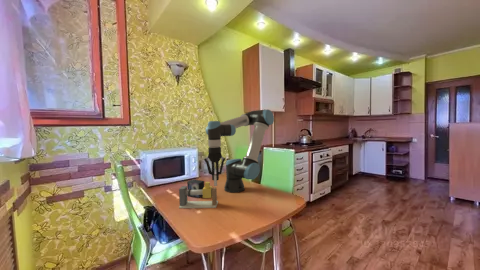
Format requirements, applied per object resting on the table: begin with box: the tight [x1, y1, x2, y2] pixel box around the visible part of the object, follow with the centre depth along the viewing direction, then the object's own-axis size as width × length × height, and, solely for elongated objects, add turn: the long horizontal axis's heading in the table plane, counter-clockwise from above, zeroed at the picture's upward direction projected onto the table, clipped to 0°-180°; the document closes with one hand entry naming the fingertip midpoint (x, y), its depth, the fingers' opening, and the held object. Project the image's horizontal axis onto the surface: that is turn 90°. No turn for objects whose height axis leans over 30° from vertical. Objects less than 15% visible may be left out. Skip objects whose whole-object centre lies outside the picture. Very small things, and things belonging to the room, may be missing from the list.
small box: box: [186, 179, 205, 199], centre depth 141 cm, size 11×6×10 cm, turn 62°
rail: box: [178, 185, 219, 209], centre depth 124 cm, size 22×9×11 cm, turn 88°
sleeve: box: [202, 181, 213, 199], centre depth 123 cm, size 5×5×9 cm
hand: (215, 185), depth 123 cm, fingers closed
